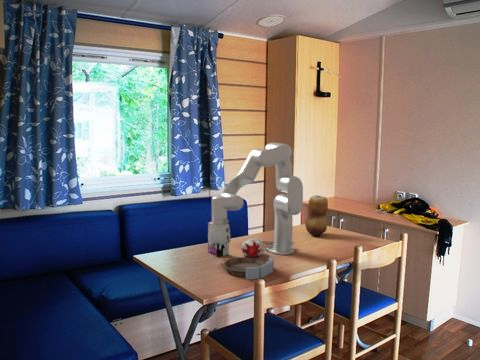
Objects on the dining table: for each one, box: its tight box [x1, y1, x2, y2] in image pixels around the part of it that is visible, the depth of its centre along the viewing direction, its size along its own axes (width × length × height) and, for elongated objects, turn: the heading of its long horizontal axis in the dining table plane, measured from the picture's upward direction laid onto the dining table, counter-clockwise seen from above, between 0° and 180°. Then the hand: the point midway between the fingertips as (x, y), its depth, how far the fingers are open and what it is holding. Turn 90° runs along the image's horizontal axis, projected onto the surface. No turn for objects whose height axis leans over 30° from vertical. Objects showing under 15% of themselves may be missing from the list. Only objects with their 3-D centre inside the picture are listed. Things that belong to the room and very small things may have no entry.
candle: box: [240, 238, 263, 258], centre depth 225 cm, size 9×11×15 cm
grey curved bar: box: [245, 256, 275, 281], centre depth 201 cm, size 21×5×5 cm, turn 144°
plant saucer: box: [223, 256, 267, 277], centre depth 206 cm, size 21×21×3 cm
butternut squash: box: [304, 194, 329, 237], centre depth 269 cm, size 14×13×25 cm
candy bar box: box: [207, 221, 230, 257], centre depth 229 cm, size 11×5×16 cm, turn 51°
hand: (219, 256), depth 216 cm, fingers closed
